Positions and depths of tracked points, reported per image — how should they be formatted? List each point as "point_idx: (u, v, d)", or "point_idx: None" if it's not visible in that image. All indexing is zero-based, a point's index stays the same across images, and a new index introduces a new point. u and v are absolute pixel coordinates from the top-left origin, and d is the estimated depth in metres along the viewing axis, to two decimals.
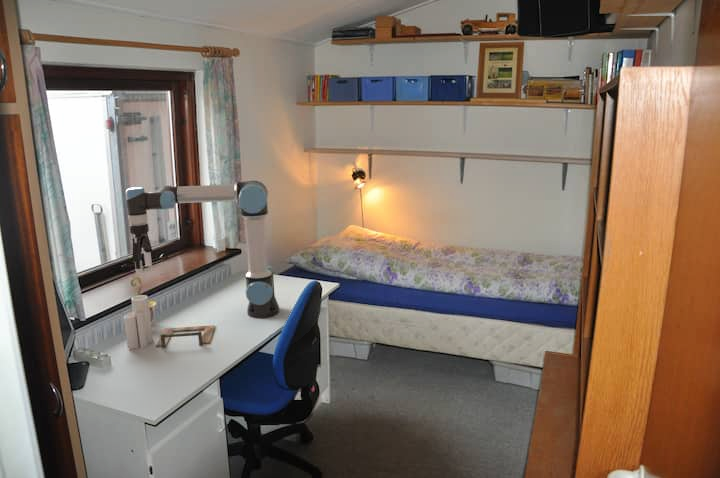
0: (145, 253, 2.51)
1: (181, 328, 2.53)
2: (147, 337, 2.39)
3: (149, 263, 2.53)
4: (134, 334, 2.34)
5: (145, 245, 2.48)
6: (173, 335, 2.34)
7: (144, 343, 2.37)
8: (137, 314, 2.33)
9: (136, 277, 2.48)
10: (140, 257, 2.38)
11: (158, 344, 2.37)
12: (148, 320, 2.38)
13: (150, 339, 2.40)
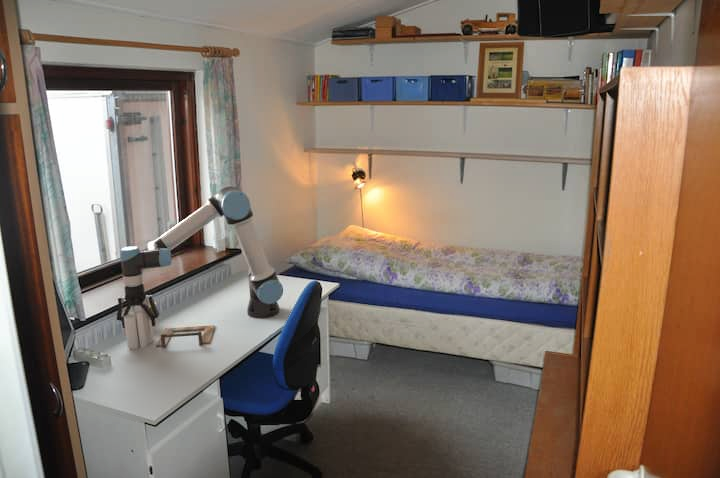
0: (150, 319, 2.38)
1: (181, 328, 2.53)
2: (147, 337, 2.39)
3: None
4: (134, 334, 2.34)
5: None
6: (173, 335, 2.34)
7: (144, 343, 2.37)
8: (137, 314, 2.33)
9: None
10: None
11: (158, 344, 2.37)
12: (148, 320, 2.38)
13: (150, 339, 2.40)
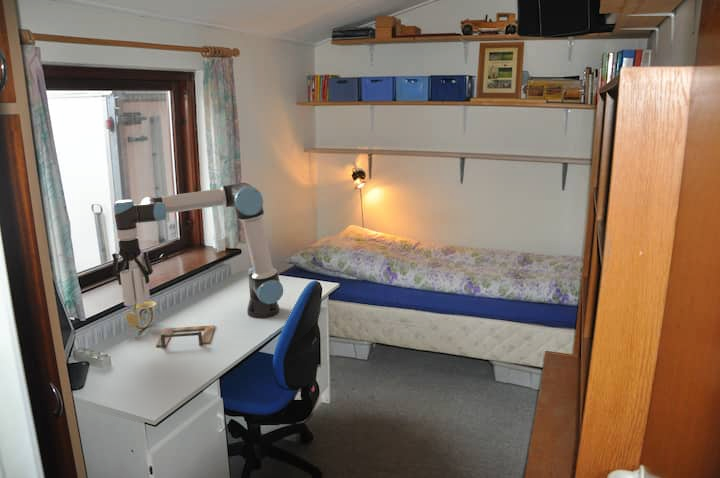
0: (144, 276, 2.33)
1: (181, 328, 2.53)
2: (144, 294, 2.34)
3: None
4: (130, 290, 2.30)
5: None
6: (173, 335, 2.34)
7: (141, 300, 2.32)
8: (134, 270, 2.28)
9: None
10: None
11: (158, 344, 2.37)
12: None
13: (147, 296, 2.36)
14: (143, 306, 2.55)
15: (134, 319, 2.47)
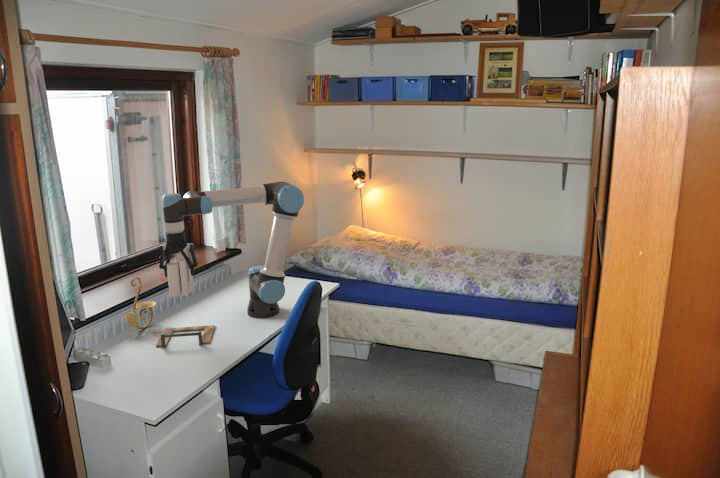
0: (189, 268, 2.38)
1: (181, 328, 2.53)
2: (189, 286, 2.39)
3: (189, 279, 2.38)
4: (177, 282, 2.35)
5: None
6: (173, 335, 2.34)
7: (187, 292, 2.37)
8: (180, 262, 2.33)
9: (136, 277, 2.48)
10: (166, 266, 2.35)
11: (158, 344, 2.37)
12: None
13: (191, 288, 2.41)
14: (143, 306, 2.55)
15: (134, 319, 2.47)
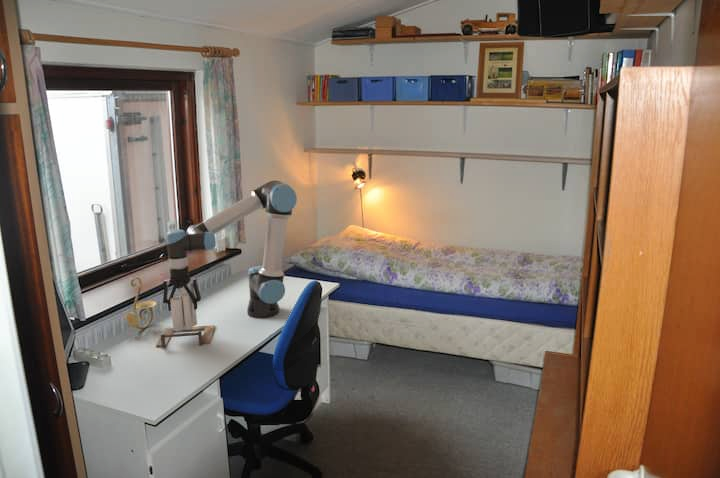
0: None
1: None
2: (192, 320, 2.43)
3: None
4: (180, 316, 2.38)
5: None
6: (173, 335, 2.34)
7: (190, 326, 2.41)
8: (184, 297, 2.37)
9: (136, 277, 2.48)
10: None
11: (158, 344, 2.37)
12: None
13: (194, 322, 2.44)
14: (143, 306, 2.55)
15: (134, 319, 2.47)
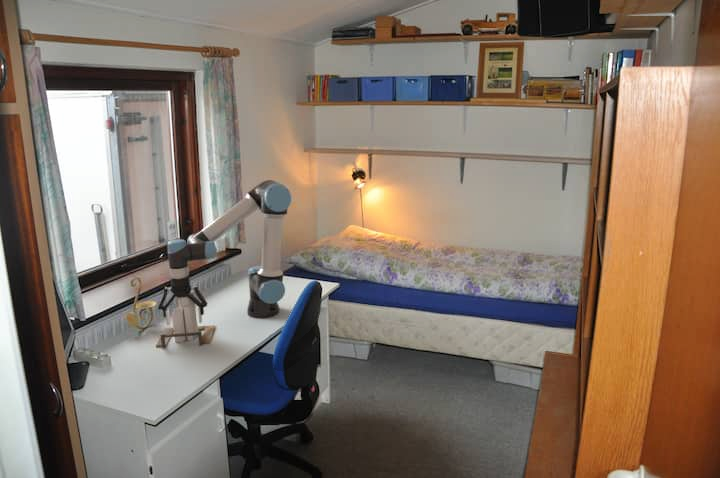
0: (199, 308, 2.43)
1: None
2: (193, 330, 2.45)
3: (199, 319, 2.43)
4: (182, 327, 2.40)
5: None
6: (173, 335, 2.34)
7: (192, 336, 2.42)
8: (185, 308, 2.38)
9: (136, 277, 2.48)
10: (165, 307, 2.39)
11: (158, 344, 2.37)
12: (194, 314, 2.44)
13: (196, 332, 2.46)
14: (143, 306, 2.55)
15: (134, 319, 2.47)
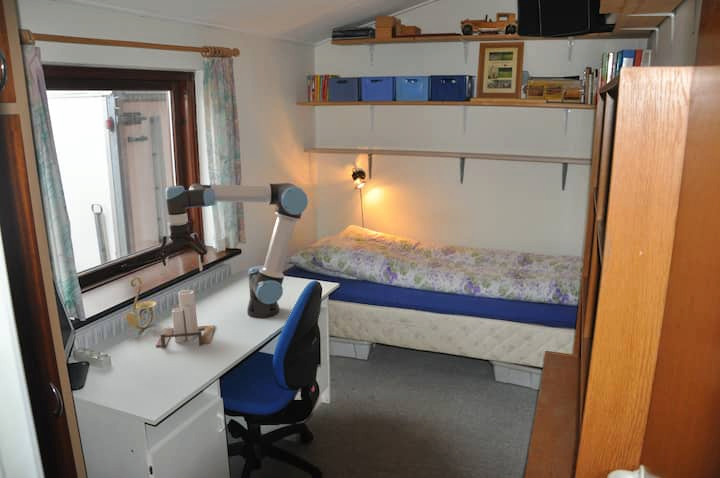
0: (199, 256, 2.40)
1: None
2: (193, 331, 2.45)
3: None
4: (182, 328, 2.40)
5: None
6: (173, 335, 2.34)
7: (192, 337, 2.42)
8: (185, 308, 2.38)
9: (136, 277, 2.48)
10: (165, 255, 2.37)
11: (158, 344, 2.37)
12: (194, 314, 2.44)
13: None
14: (143, 306, 2.55)
15: (134, 319, 2.47)
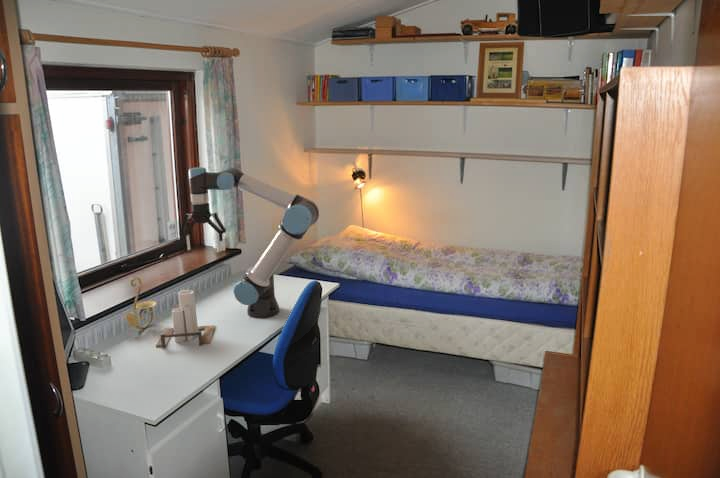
0: (218, 234, 2.55)
1: None
2: (193, 331, 2.45)
3: (218, 245, 2.55)
4: (182, 328, 2.40)
5: None
6: (173, 335, 2.34)
7: (192, 337, 2.42)
8: (185, 308, 2.38)
9: (136, 277, 2.48)
10: (186, 232, 2.51)
11: (158, 344, 2.37)
12: (194, 314, 2.44)
13: None
14: (143, 306, 2.55)
15: (134, 319, 2.47)
